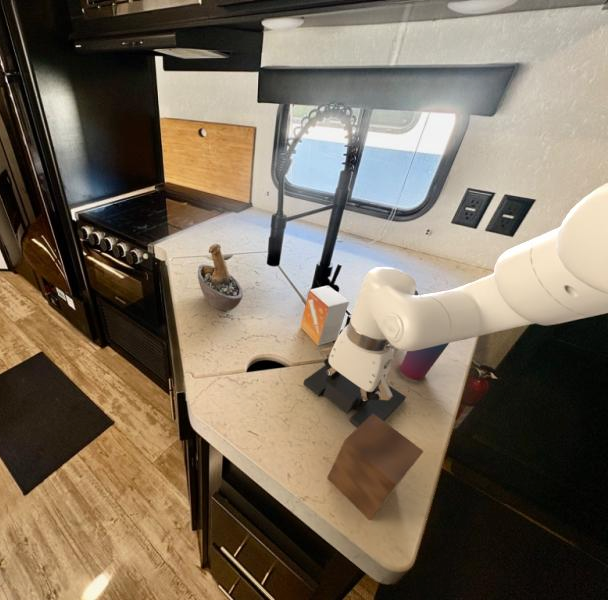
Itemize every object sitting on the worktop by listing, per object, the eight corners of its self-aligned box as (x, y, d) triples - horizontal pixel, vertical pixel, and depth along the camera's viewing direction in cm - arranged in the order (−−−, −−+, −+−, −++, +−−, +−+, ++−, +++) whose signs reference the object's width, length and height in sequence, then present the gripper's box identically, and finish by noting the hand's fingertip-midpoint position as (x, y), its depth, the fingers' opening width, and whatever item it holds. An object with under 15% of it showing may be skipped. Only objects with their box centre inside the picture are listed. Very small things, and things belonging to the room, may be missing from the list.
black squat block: (364, 399, 66) (369, 387, 64) (347, 414, 64) (352, 402, 61) (339, 381, 70) (344, 369, 68) (323, 394, 67) (327, 382, 65)
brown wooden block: (395, 488, 53) (423, 450, 46) (369, 520, 49) (396, 484, 42) (353, 451, 58) (373, 413, 51) (327, 477, 54) (344, 440, 47)
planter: (201, 286, 105) (200, 230, 93) (249, 295, 101) (255, 238, 89) (184, 311, 94) (181, 251, 82) (238, 323, 89) (243, 261, 78)
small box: (299, 327, 87) (308, 289, 80) (318, 322, 89) (328, 284, 82) (317, 346, 81) (328, 306, 74) (337, 340, 83) (350, 301, 76)
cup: (435, 378, 73) (466, 329, 64) (414, 386, 71) (443, 337, 62) (410, 358, 78) (435, 311, 69) (389, 365, 76) (413, 317, 67)
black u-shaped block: (403, 401, 67) (406, 396, 67) (368, 436, 61) (370, 432, 60) (339, 358, 78) (341, 353, 77) (303, 384, 71) (304, 379, 70)
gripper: (429, 351, 52) (392, 415, 63) (340, 303, 64) (321, 364, 74) (407, 372, 49) (371, 436, 59) (317, 316, 60) (300, 378, 71)
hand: (344, 395), depth 67 cm, fingers closed on black squat block, 6 cm apart
